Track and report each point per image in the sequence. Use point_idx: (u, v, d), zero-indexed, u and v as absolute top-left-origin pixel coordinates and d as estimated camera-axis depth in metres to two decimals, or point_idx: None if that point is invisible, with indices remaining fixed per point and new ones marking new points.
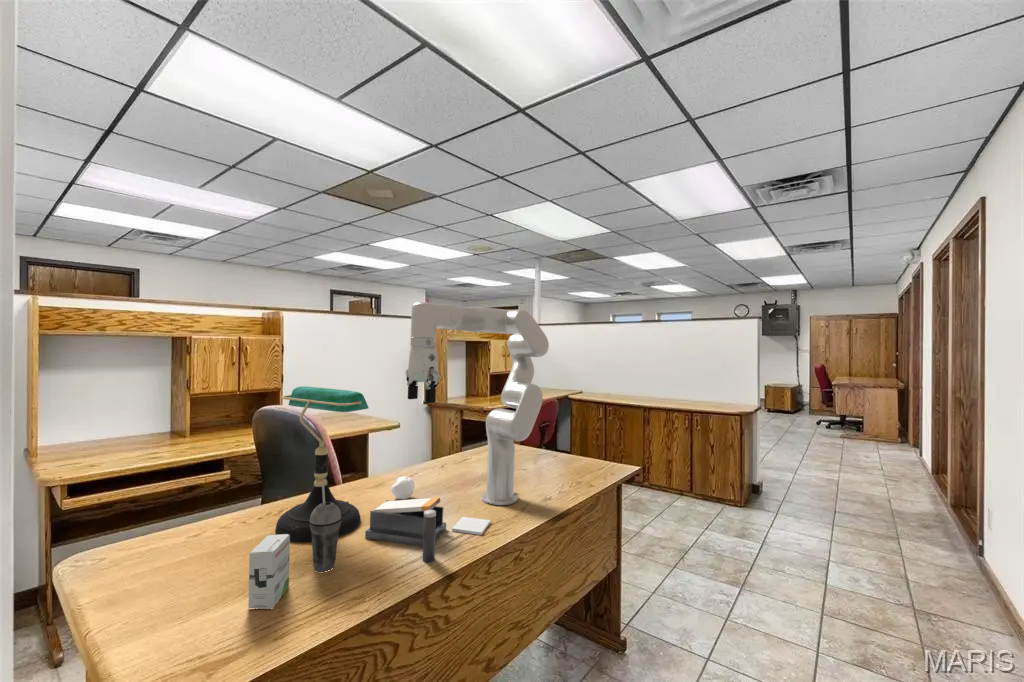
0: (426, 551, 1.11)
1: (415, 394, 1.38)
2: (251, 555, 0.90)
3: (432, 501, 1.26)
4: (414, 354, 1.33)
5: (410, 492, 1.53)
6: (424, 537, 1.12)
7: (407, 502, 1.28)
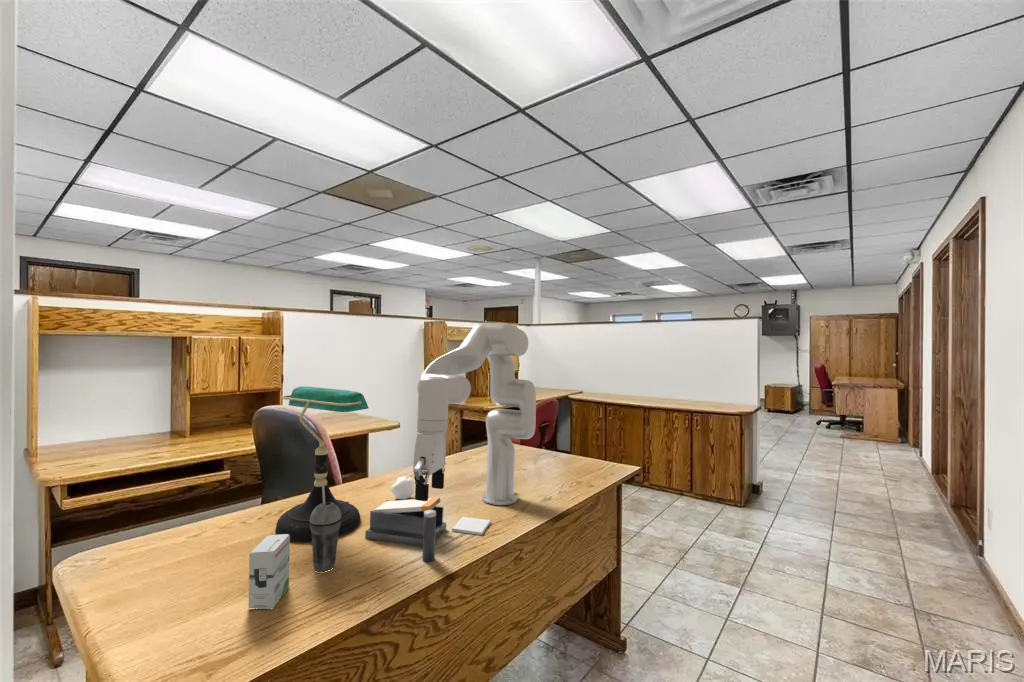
0: (426, 551, 1.11)
1: None
2: (251, 555, 0.90)
3: (432, 501, 1.26)
4: (440, 439, 1.11)
5: (410, 492, 1.53)
6: (424, 537, 1.12)
7: (407, 502, 1.28)
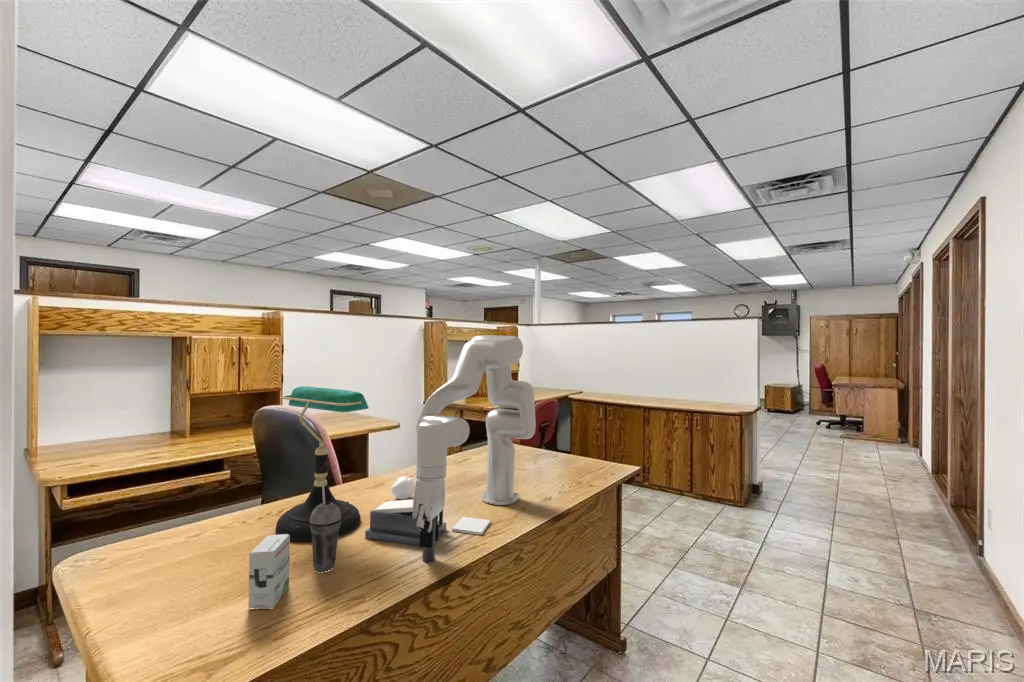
0: (426, 551, 1.11)
1: None
2: (251, 555, 0.90)
3: None
4: (439, 485, 1.12)
5: (410, 492, 1.53)
6: None
7: (407, 502, 1.28)
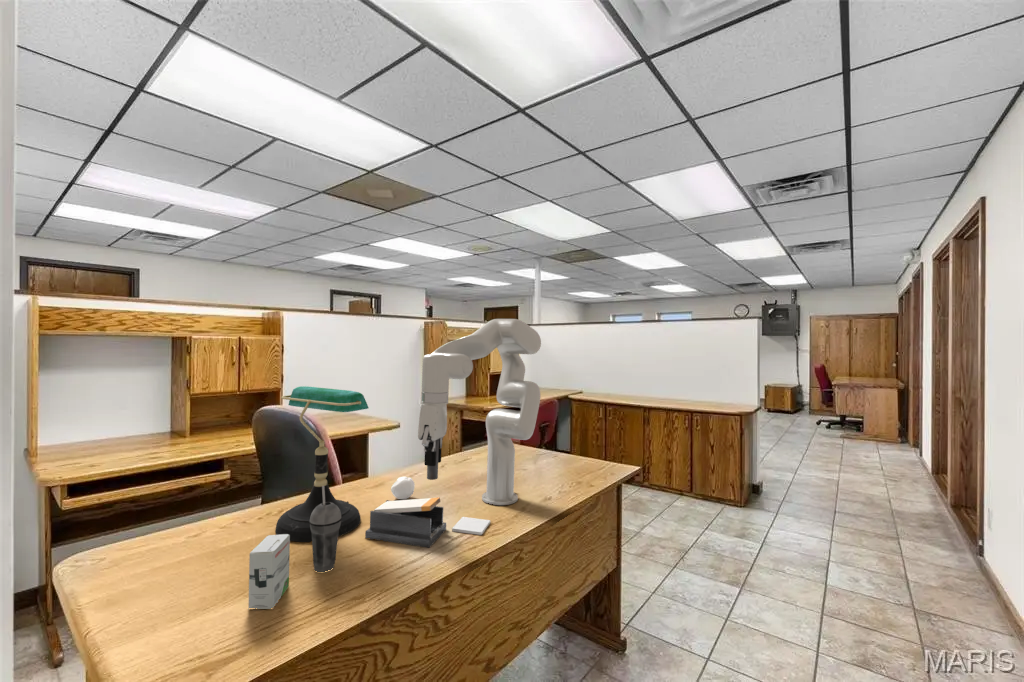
0: (430, 470, 1.24)
1: None
2: (251, 555, 0.90)
3: (432, 501, 1.26)
4: (441, 410, 1.24)
5: (410, 492, 1.53)
6: None
7: (407, 502, 1.28)
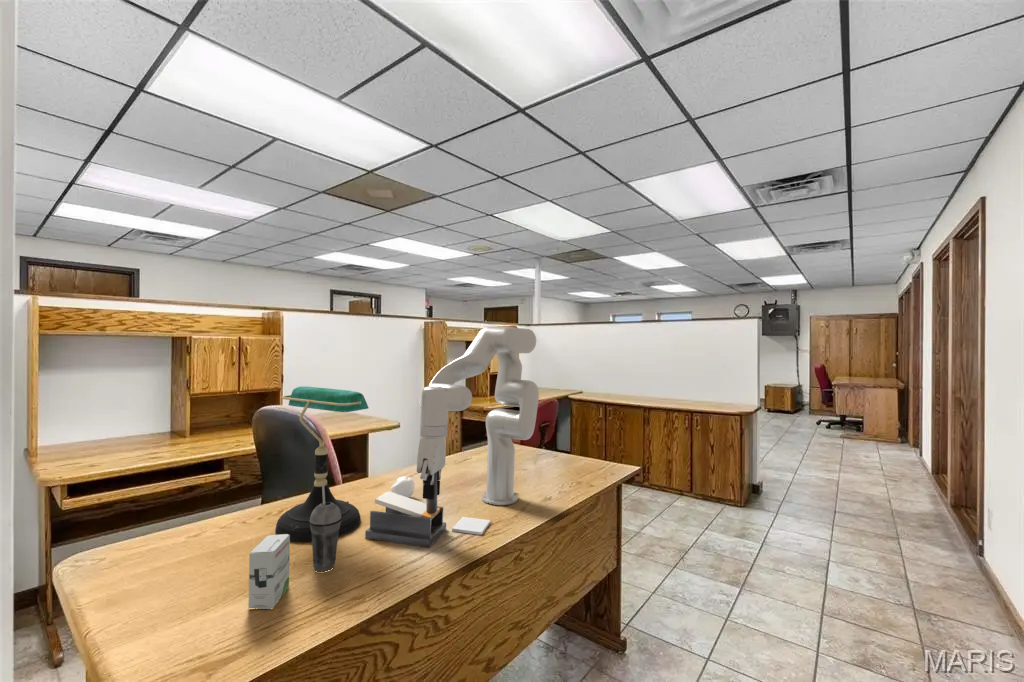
0: (429, 503, 1.24)
1: None
2: (251, 555, 0.90)
3: None
4: (440, 443, 1.24)
5: (410, 492, 1.53)
6: None
7: (408, 501, 1.28)
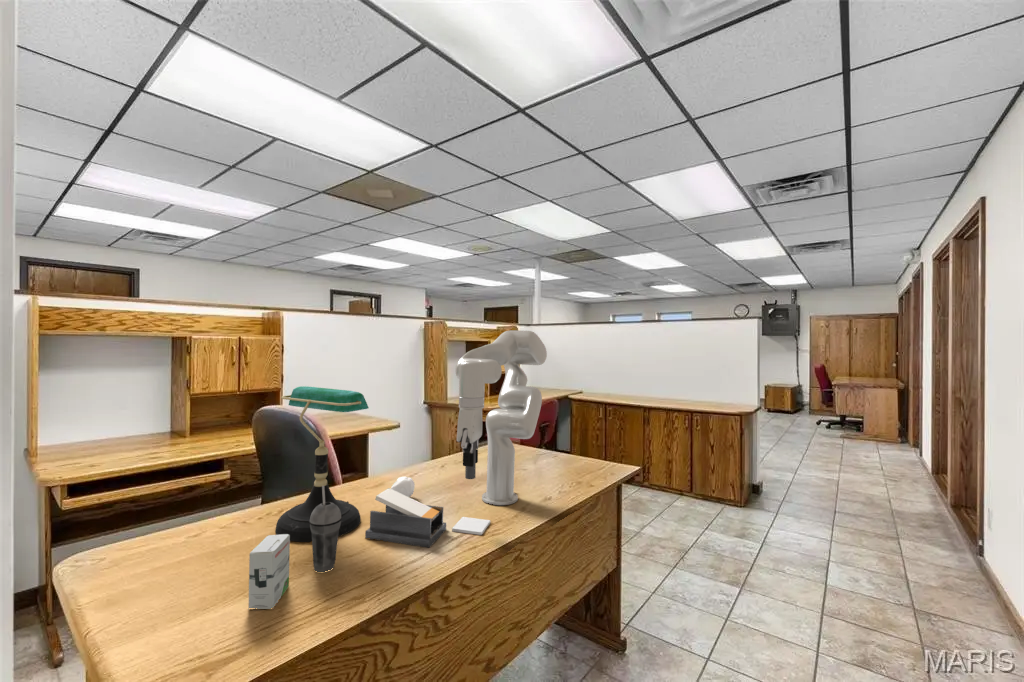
0: (468, 470, 1.31)
1: None
2: (251, 555, 0.90)
3: (432, 514, 1.26)
4: (478, 414, 1.31)
5: (410, 492, 1.53)
6: None
7: (408, 501, 1.28)
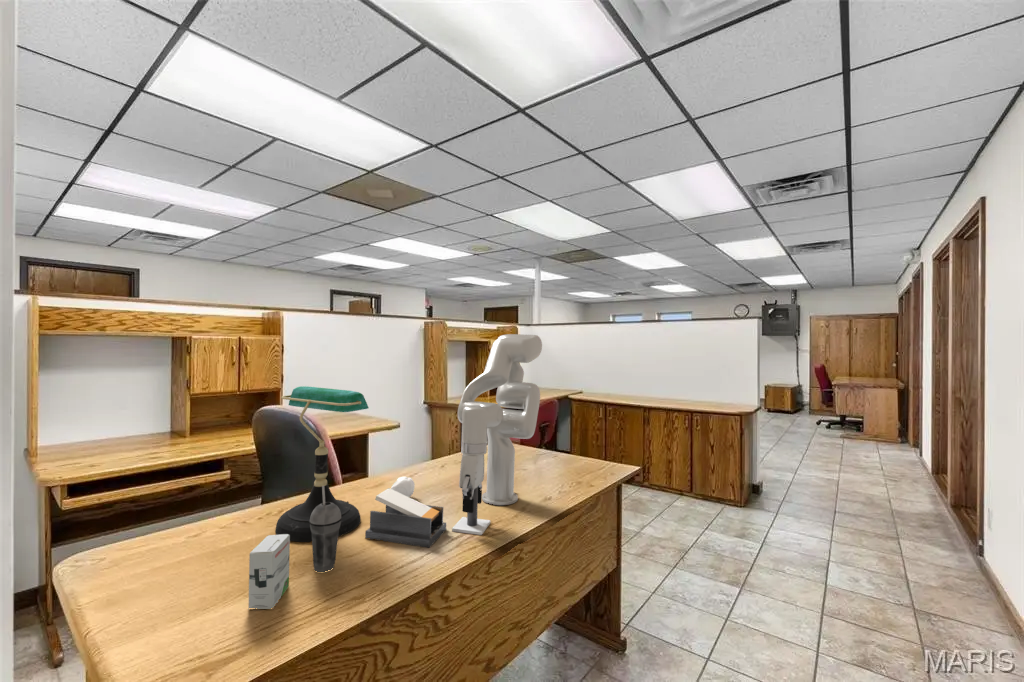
0: (470, 517, 1.32)
1: None
2: (251, 555, 0.90)
3: (432, 514, 1.26)
4: (481, 459, 1.32)
5: (410, 492, 1.53)
6: None
7: (408, 501, 1.28)
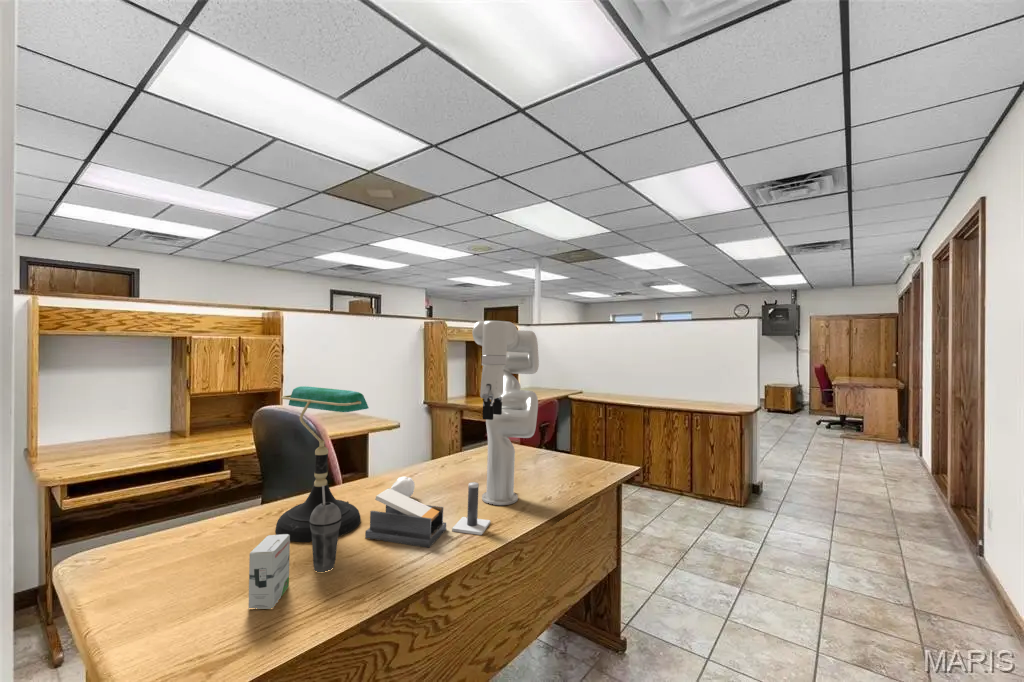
0: (470, 517, 1.32)
1: None
2: (251, 555, 0.90)
3: (432, 514, 1.26)
4: (501, 372, 1.36)
5: (410, 492, 1.53)
6: (469, 505, 1.32)
7: (408, 501, 1.28)
